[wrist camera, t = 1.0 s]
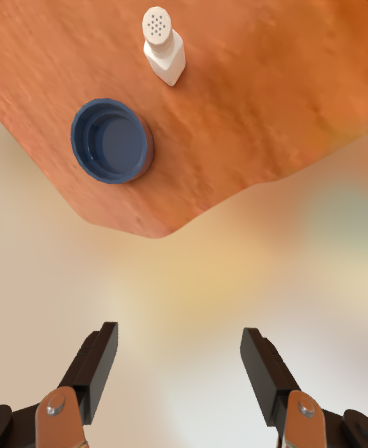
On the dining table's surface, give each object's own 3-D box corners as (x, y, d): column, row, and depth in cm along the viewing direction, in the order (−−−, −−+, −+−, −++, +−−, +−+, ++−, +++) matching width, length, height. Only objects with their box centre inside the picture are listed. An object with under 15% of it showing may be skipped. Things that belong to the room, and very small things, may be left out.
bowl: (76, 124, 32) (55, 118, 27) (137, 95, 30) (125, 83, 25) (108, 189, 36) (94, 193, 31) (164, 167, 33) (158, 168, 29)
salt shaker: (172, 89, 29) (161, 57, 20) (152, 72, 29) (131, 31, 20) (187, 64, 28) (182, 19, 19) (166, 46, 27) (151, -10, 18)
